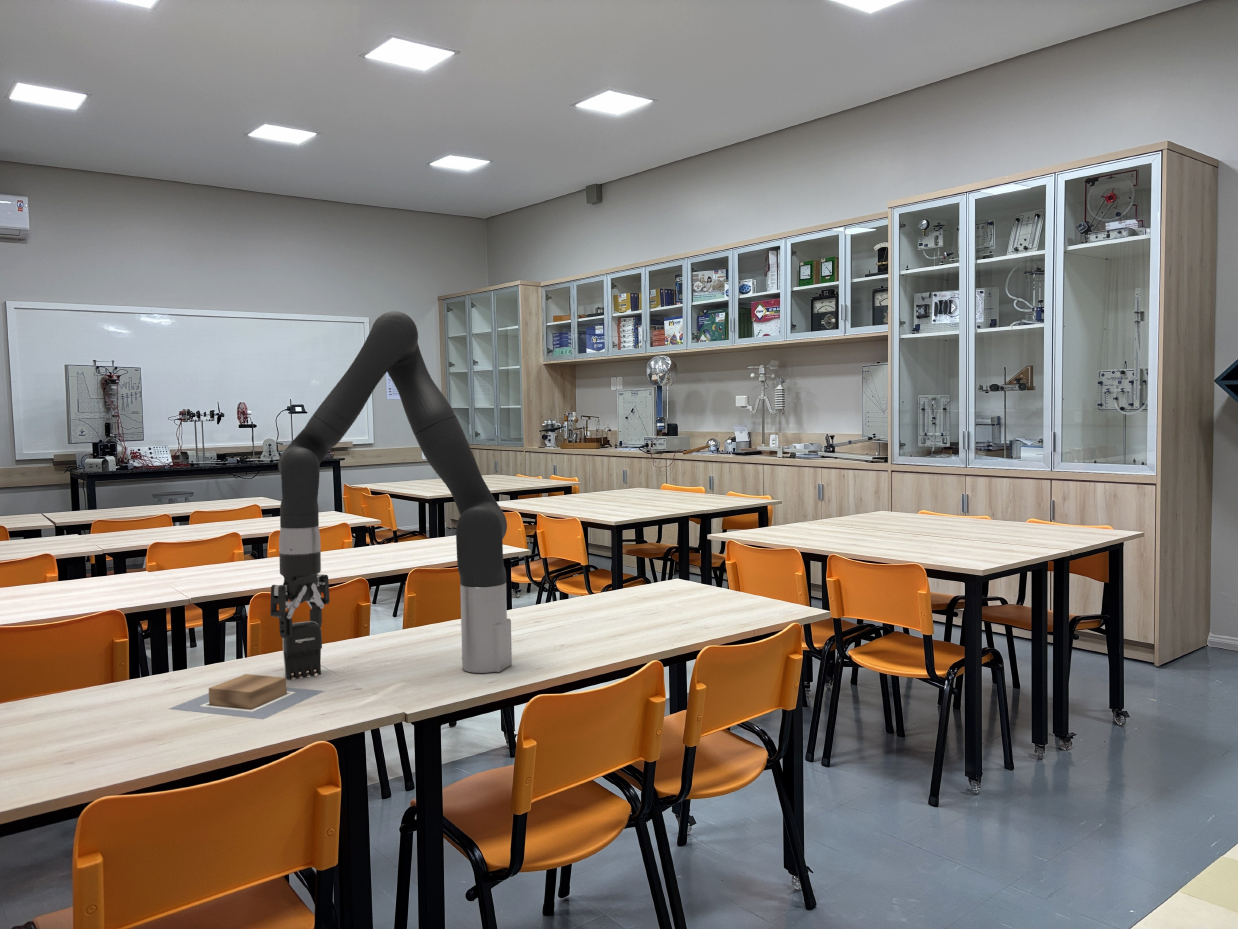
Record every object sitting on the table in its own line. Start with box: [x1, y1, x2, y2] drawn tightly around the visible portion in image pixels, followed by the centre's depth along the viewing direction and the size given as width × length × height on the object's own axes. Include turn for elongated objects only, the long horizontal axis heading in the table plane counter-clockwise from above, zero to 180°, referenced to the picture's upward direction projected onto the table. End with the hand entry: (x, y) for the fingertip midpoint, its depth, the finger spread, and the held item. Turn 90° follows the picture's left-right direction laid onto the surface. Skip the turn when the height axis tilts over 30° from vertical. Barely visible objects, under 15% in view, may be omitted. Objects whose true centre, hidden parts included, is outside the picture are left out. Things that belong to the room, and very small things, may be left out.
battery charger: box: [282, 620, 323, 681], centre depth 169 cm, size 7×4×11 cm, turn 122°
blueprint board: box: [168, 686, 325, 720], centre depth 155 cm, size 20×16×1 cm
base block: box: [208, 673, 288, 709], centre depth 155 cm, size 9×9×3 cm
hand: (301, 632), depth 169 cm, fingers open, 8 cm apart
